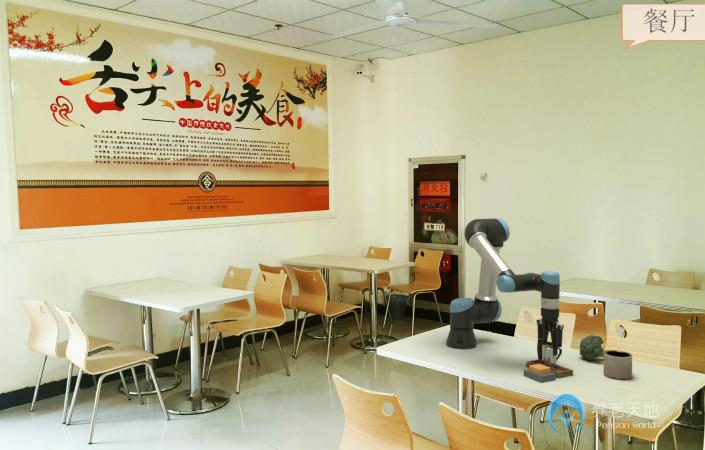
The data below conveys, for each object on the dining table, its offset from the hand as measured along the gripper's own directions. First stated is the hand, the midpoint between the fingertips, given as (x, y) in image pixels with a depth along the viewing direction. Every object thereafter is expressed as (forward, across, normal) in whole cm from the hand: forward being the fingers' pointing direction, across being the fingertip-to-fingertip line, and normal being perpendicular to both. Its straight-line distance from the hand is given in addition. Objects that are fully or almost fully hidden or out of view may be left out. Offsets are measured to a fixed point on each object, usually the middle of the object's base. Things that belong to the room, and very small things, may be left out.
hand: (549, 361), depth 238 cm
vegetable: (+5, -3, +31) cm, 32 cm away
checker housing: (+4, +5, -10) cm, 12 cm away
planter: (+5, +18, +21) cm, 28 cm away
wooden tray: (+4, 0, 0) cm, 4 cm away
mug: (+5, -7, +7) cm, 11 cm away
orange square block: (+3, +5, -11) cm, 12 cm away
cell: (+2, 0, 0) cm, 2 cm away
